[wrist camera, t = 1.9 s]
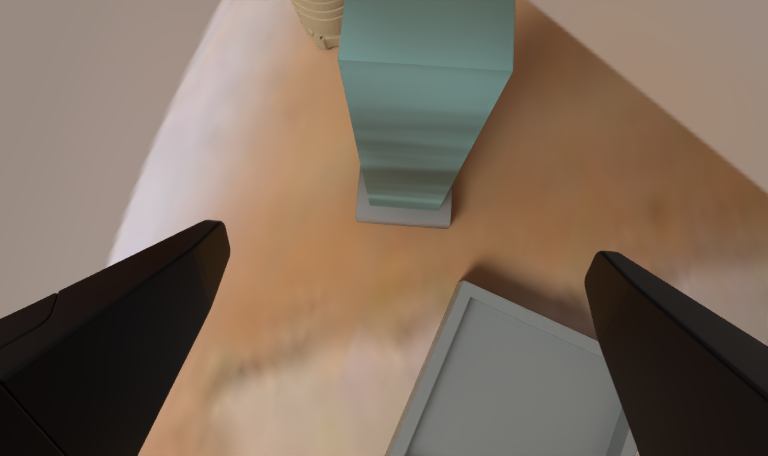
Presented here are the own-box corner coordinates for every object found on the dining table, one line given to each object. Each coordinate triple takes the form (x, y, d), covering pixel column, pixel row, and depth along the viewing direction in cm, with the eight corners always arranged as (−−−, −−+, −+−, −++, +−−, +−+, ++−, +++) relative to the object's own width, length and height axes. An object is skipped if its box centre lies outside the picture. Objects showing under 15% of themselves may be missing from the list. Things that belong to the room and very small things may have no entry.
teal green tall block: (446, 228, 22) (547, 105, 8) (357, 222, 22) (300, 88, 8) (451, 143, 22) (549, -103, 9) (365, 137, 23) (326, -114, 9)
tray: (573, 568, 19) (590, 593, 17) (379, 469, 19) (378, 484, 18) (641, 364, 20) (662, 370, 19) (458, 281, 21) (464, 280, 19)
